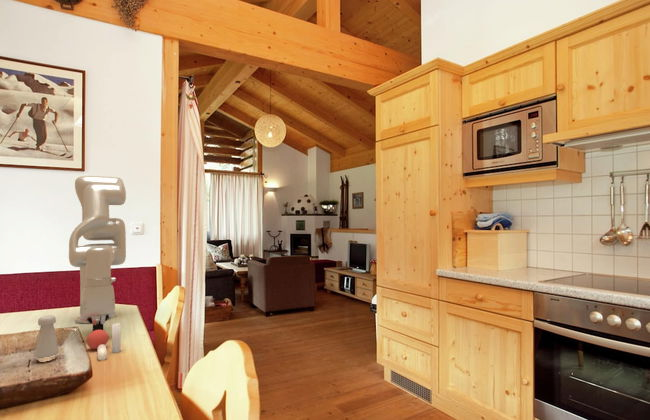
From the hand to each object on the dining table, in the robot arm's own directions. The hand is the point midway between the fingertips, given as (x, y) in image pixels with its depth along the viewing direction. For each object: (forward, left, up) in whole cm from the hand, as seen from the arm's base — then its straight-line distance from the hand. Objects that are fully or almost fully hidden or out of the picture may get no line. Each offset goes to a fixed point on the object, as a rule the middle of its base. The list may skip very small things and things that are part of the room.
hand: (97, 335), depth 131 cm
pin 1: (+15, -1, 0) cm, 15 cm away
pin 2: (+17, +3, -2) cm, 18 cm away
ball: (+10, -2, +2) cm, 11 cm away
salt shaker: (+12, -15, -2) cm, 19 cm away
